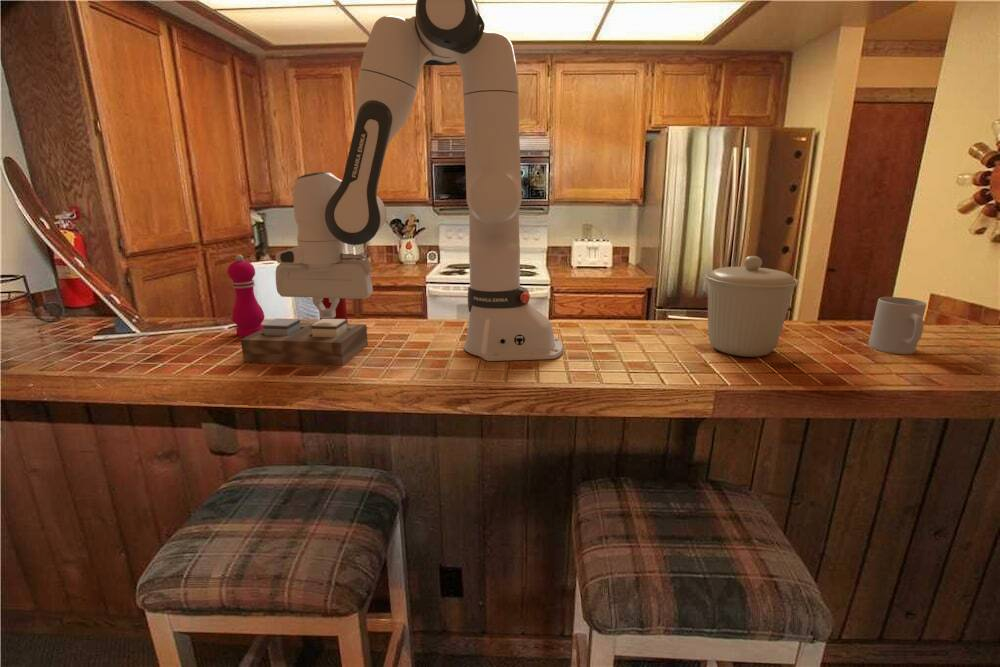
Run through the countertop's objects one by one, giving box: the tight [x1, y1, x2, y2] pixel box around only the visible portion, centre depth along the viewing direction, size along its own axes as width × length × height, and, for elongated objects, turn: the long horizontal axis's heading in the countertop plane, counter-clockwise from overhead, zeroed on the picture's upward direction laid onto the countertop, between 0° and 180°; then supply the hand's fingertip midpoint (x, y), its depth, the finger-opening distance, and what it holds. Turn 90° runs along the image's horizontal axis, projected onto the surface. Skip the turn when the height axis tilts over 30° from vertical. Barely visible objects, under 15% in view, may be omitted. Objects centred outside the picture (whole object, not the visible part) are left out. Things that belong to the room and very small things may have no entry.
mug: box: [868, 296, 927, 355], centre depth 110 cm, size 12×8×11 cm
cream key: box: [311, 319, 348, 338], centre depth 110 cm, size 6×6×5 cm
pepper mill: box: [227, 254, 265, 338], centre depth 124 cm, size 7×7×20 cm
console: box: [240, 322, 369, 367], centre depth 111 cm, size 22×14×5 cm, turn 83°
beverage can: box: [319, 298, 349, 324], centre depth 130 cm, size 7×7×12 cm
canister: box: [704, 255, 800, 358], centre depth 109 cm, size 18×18×21 cm
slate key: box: [262, 318, 301, 336], centre depth 111 cm, size 6×6×5 cm
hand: (327, 317), depth 109 cm, fingers closed
